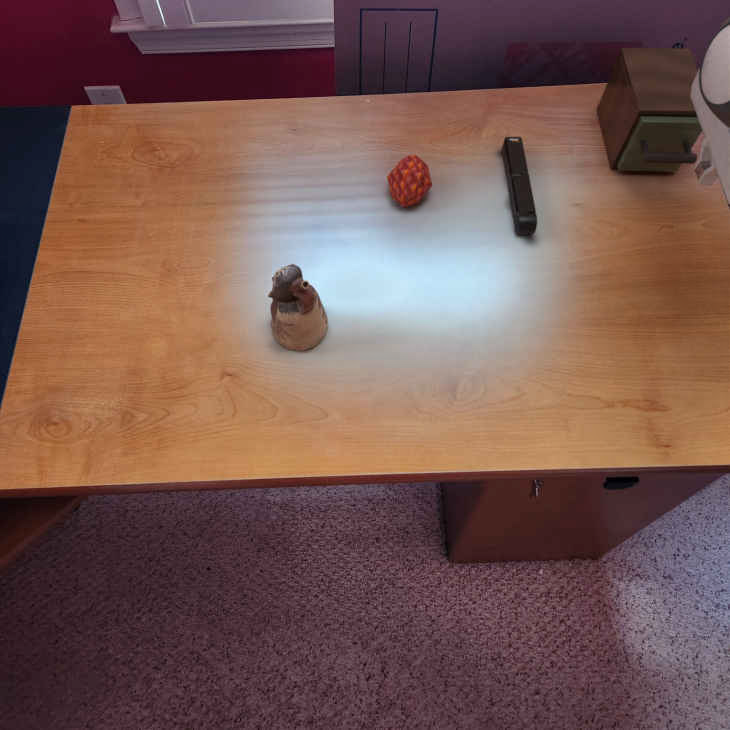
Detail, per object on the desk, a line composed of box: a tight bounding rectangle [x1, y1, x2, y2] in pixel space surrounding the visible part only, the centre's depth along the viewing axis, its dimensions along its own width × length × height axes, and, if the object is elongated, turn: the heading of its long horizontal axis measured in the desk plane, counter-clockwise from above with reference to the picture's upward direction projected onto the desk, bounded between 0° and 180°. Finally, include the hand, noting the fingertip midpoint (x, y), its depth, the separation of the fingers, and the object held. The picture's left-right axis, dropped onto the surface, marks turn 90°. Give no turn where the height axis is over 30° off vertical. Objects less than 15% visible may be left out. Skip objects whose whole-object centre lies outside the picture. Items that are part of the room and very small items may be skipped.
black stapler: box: [501, 136, 538, 235], centre depth 85 cm, size 18×3×3 cm, turn 0°
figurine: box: [267, 263, 329, 351], centre depth 70 cm, size 7×7×12 cm
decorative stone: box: [386, 154, 433, 208], centre depth 84 cm, size 6×7×8 cm
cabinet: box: [596, 47, 699, 171], centre depth 87 cm, size 14×10×11 cm
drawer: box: [617, 115, 703, 173], centre depth 85 cm, size 16×9×9 cm, turn 178°
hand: (702, 177), depth 73 cm, fingers closed
